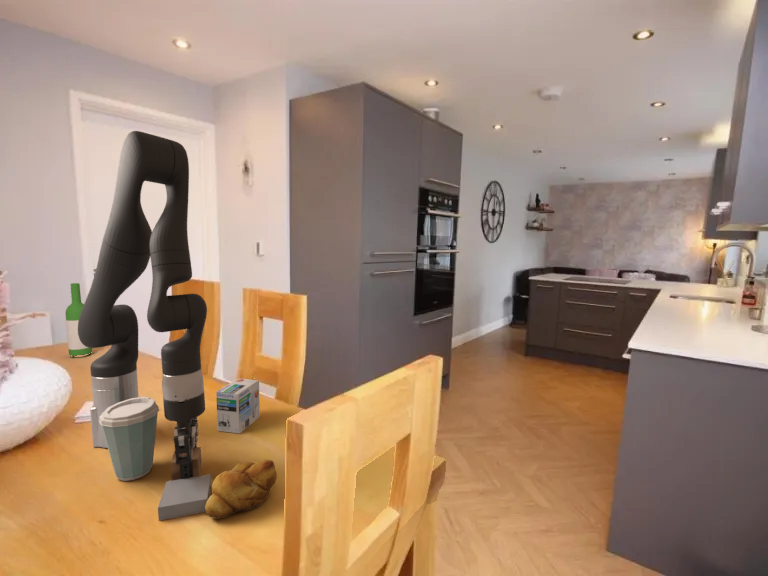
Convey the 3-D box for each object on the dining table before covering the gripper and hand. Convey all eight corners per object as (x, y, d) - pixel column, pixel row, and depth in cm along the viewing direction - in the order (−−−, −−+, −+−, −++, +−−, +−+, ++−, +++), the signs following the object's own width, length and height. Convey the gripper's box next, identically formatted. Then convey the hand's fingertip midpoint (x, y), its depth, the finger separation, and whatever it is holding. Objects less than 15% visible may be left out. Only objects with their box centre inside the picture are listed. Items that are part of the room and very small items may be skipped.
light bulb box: (240, 434, 102) (238, 394, 101) (216, 431, 103) (214, 391, 102) (260, 416, 112) (260, 379, 111) (239, 413, 114) (238, 377, 112)
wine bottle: (74, 359, 160) (68, 285, 156) (65, 356, 164) (59, 283, 160) (96, 354, 167) (90, 283, 163) (87, 351, 171) (81, 282, 167)
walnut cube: (172, 486, 81) (170, 462, 80) (176, 472, 85) (175, 450, 85) (199, 481, 82) (198, 458, 82) (201, 468, 87) (200, 446, 86)
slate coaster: (158, 520, 71) (157, 507, 70) (167, 493, 78) (166, 481, 78) (207, 511, 73) (207, 498, 73) (211, 485, 81) (210, 474, 81)
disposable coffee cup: (119, 494, 78) (113, 421, 76) (93, 476, 83) (87, 407, 82) (172, 468, 87) (168, 402, 85) (145, 453, 92) (141, 391, 90)
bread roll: (213, 533, 68) (211, 489, 67) (195, 504, 75) (193, 464, 74) (282, 501, 77) (281, 462, 76) (260, 478, 84) (259, 442, 83)
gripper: (169, 383, 87) (175, 455, 89) (155, 408, 73) (162, 493, 75) (207, 378, 89) (212, 449, 91) (200, 402, 76) (205, 485, 78)
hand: (189, 469), depth 83 cm, fingers open, 6 cm apart
